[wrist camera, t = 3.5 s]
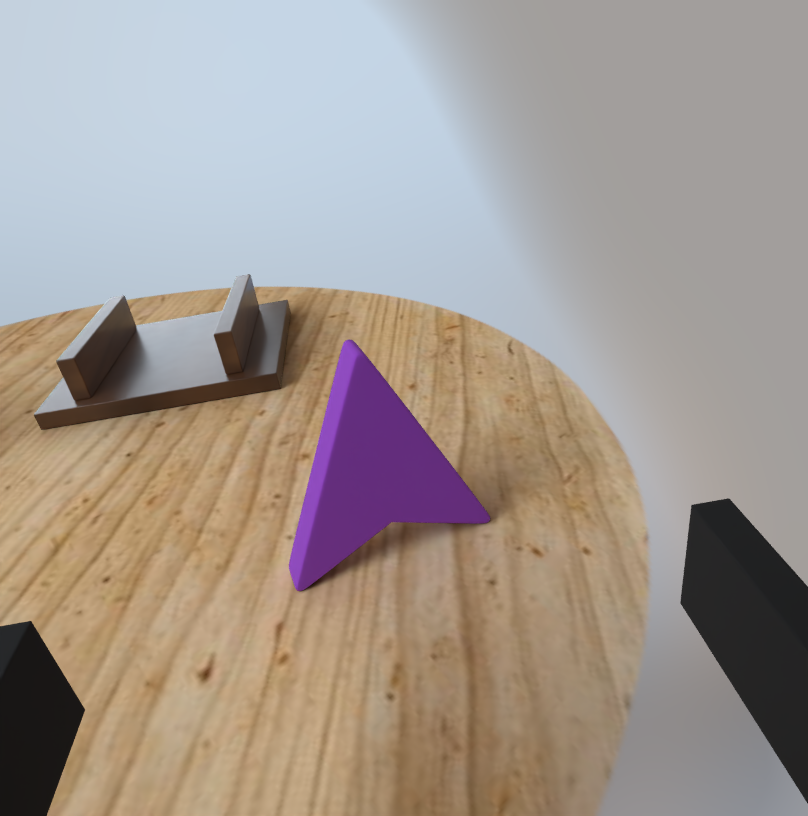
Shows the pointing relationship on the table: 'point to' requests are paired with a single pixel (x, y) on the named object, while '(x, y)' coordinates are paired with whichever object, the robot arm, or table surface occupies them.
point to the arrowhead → (371, 473)
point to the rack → (168, 359)
